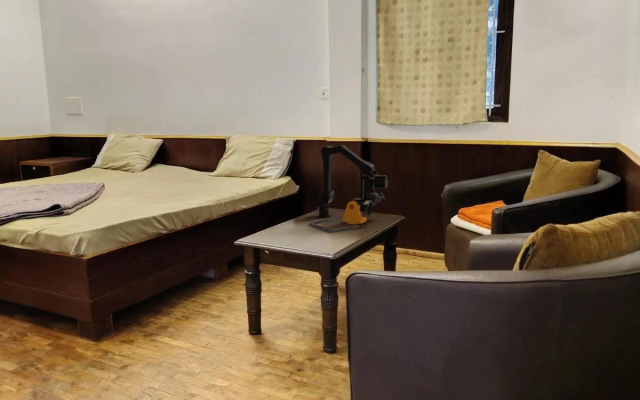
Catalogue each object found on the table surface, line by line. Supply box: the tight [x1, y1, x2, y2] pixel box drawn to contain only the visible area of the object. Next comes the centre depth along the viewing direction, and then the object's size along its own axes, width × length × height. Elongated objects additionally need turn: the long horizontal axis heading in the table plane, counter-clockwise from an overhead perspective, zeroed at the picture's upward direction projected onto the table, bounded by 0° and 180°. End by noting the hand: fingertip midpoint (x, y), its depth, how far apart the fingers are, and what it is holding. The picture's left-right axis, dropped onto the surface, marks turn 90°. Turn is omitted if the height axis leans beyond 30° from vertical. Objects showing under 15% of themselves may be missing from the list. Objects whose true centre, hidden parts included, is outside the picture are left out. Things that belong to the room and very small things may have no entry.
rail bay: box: [308, 217, 360, 234], centre depth 265 cm, size 21×18×1 cm
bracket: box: [342, 200, 367, 225], centre depth 271 cm, size 11×7×12 cm, turn 58°
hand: (368, 215), depth 276 cm, fingers closed
